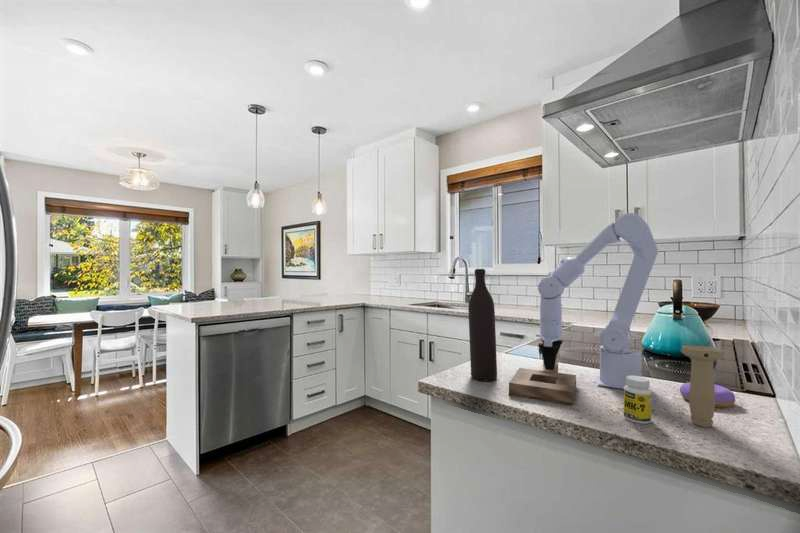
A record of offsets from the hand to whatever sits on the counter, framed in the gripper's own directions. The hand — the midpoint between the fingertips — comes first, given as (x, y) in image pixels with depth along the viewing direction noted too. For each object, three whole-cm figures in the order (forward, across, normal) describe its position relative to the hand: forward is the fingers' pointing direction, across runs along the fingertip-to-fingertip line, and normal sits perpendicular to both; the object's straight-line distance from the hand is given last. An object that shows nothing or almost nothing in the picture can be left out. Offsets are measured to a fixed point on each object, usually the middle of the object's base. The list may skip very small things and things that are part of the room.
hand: (550, 366), depth 107 cm
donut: (+2, +6, +34) cm, 35 cm away
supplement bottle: (+2, +25, +19) cm, 31 cm away
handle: (+2, +22, +30) cm, 37 cm away
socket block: (+2, +16, 0) cm, 16 cm away
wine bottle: (+2, +13, -16) cm, 20 cm away
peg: (+2, 0, 0) cm, 2 cm away
